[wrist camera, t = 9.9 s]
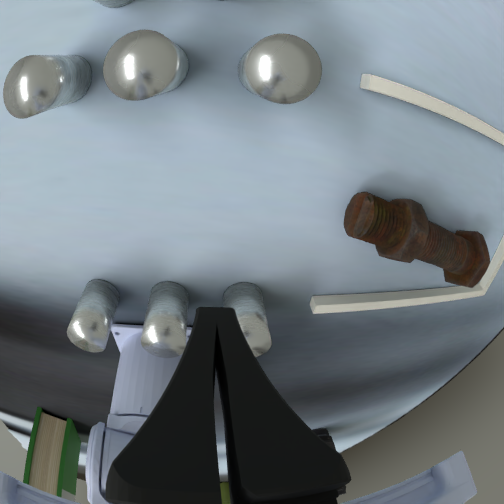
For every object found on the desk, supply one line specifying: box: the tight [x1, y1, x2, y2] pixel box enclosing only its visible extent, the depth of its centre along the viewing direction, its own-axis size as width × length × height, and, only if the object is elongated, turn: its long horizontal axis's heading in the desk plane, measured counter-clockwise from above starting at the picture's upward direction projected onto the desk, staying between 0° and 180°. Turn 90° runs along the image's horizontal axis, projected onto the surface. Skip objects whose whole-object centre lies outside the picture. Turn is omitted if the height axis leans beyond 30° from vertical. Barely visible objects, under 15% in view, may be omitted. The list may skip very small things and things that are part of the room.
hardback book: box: [23, 407, 81, 502], centre depth 31 cm, size 18×7×24 cm, turn 157°
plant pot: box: [220, 482, 230, 504], centre depth 72 cm, size 12×12×11 cm
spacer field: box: [3, 0, 322, 358], centre depth 14 cm, size 26×15×5 cm, turn 175°
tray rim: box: [310, 74, 504, 314], centre depth 21 cm, size 19×25×1 cm
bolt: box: [344, 192, 490, 288], centre depth 20 cm, size 6×5×15 cm
